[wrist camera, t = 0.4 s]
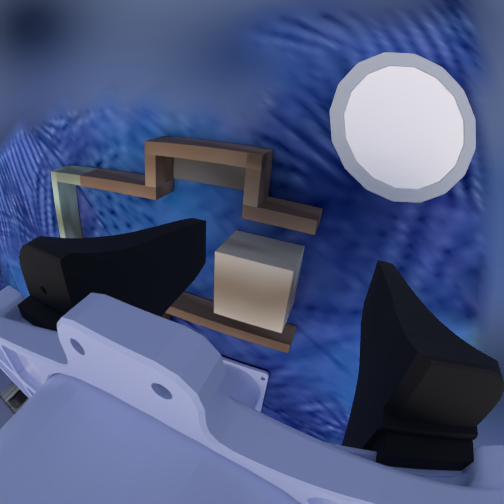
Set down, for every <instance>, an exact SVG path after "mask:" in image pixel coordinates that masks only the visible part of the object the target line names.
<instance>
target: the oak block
mask: <svg viewBox="0 0 504 504" xmlns="http://www.w3.org/2000/svg"><path fill="white" fill-rule="evenodd" d="M304 248H305V246H302V245H298V244H294V243H290V242H285V241H281V240H277V239H273V238H268V237H264V236H260V235H256V234H251V233H247V232H243V231H238V230H236V231H235V232H234V233H233V234H232V235H231V236H230V237H229V238H228V239H227V240H226V241H225V242H224V243H223V244H222V245H221V246H220V247H219V248H218V249H217V250H216V251H215V272H214V313H216V314H219V315H222V316H225V317H228V318H232V319H235V320H238V321H241V322H245V323H248V324H251V325H255V326H258V327H261V328H265V329H268V330H272V331H275V332H279V333H282V331H283V329H284V326H285V324H286V321H287V319H288V316H289V314H290V311H291V309H292V306H293V304H294V299H295V294H296V289H297V284H298V279H299V274H300V269H301V264H302V258H303V253H304Z"/></svg>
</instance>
